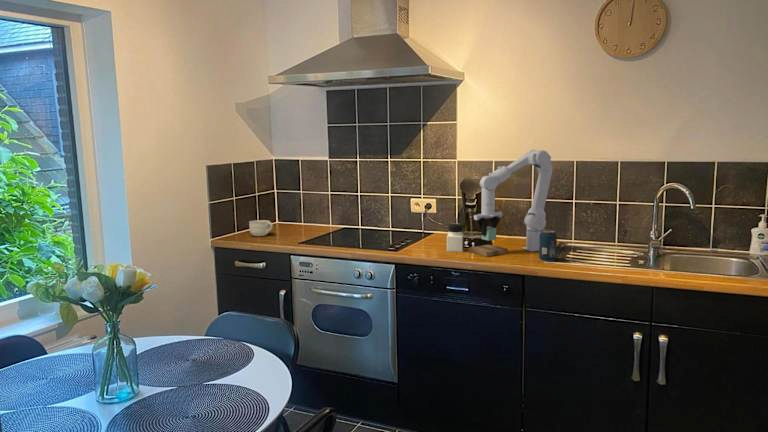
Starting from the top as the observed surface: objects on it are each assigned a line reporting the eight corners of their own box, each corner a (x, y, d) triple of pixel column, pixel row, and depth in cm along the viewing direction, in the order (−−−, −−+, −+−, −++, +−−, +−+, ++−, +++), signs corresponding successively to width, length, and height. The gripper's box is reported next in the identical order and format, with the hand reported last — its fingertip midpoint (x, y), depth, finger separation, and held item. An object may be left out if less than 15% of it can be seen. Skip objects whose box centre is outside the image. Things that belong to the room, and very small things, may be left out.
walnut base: (488, 248, 272) (488, 244, 272) (507, 253, 262) (507, 248, 262) (468, 252, 266) (468, 247, 265) (486, 256, 256) (486, 252, 255)
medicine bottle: (462, 252, 266) (462, 225, 264) (446, 251, 267) (446, 225, 266) (464, 248, 273) (464, 222, 271) (448, 248, 274) (448, 222, 272)
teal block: (489, 237, 265) (489, 226, 265) (496, 239, 262) (496, 228, 261) (481, 238, 263) (481, 227, 262) (488, 240, 259) (488, 229, 259)
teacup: (245, 236, 317) (244, 221, 315) (262, 233, 325) (261, 218, 324) (262, 238, 308) (261, 223, 306) (278, 235, 316) (278, 220, 315)
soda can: (543, 257, 252) (543, 229, 251) (559, 259, 248) (559, 230, 246) (536, 260, 247) (536, 231, 245) (552, 262, 243) (552, 233, 241)
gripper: (481, 206, 253) (481, 237, 255) (507, 203, 261) (506, 234, 263) (470, 204, 259) (470, 235, 261) (495, 201, 267) (495, 231, 269)
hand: (487, 234), depth 263 cm, fingers closed on teal block, 4 cm apart
